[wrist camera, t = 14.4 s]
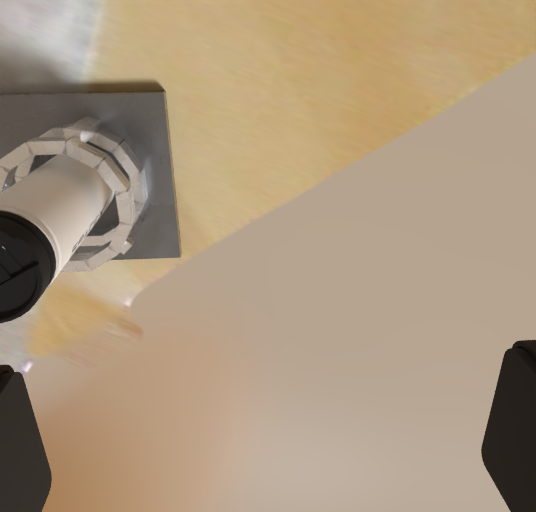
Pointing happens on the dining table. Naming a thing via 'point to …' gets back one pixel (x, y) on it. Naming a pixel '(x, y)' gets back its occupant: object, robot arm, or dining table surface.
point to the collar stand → (102, 165)
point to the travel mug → (45, 228)
